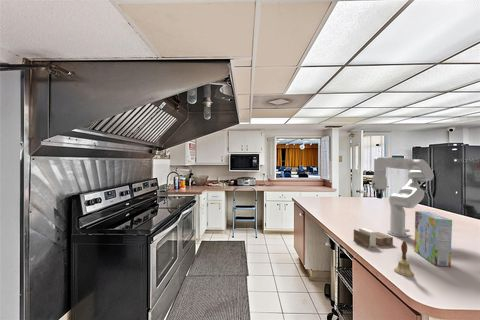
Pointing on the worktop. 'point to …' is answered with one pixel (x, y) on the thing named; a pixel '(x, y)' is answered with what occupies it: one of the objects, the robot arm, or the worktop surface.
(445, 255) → the snack box
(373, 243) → the carton
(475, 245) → the worktop surface
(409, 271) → the hand bell
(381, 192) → the robot arm
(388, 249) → the worktop surface
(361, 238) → the podium
